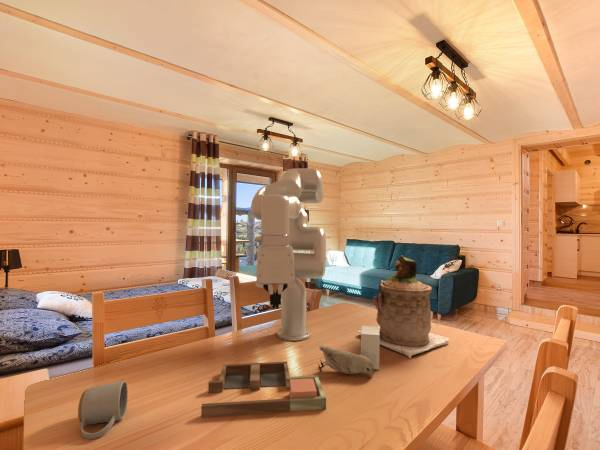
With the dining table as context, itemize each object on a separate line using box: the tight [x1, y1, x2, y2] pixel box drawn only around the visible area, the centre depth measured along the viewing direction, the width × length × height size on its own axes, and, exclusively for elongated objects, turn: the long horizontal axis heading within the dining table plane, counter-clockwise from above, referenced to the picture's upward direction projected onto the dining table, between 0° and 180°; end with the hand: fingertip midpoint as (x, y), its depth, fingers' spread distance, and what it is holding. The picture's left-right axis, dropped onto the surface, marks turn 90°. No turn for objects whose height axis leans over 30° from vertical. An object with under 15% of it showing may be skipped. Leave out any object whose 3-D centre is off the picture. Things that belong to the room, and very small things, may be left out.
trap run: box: [200, 361, 327, 418], centre depth 82 cm, size 20×28×2 cm
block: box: [289, 378, 318, 398], centre depth 77 cm, size 6×6×4 cm
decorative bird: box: [317, 344, 375, 378], centre depth 91 cm, size 5×16×8 cm, turn 74°
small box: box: [360, 325, 381, 371], centre depth 97 cm, size 8×6×10 cm
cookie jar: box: [357, 255, 450, 359], centre depth 117 cm, size 25×25×32 cm
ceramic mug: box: [77, 380, 129, 440], centre depth 67 cm, size 11×8×8 cm
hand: (275, 307), depth 86 cm, fingers closed
